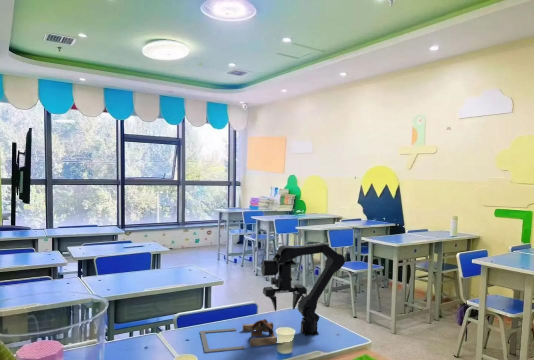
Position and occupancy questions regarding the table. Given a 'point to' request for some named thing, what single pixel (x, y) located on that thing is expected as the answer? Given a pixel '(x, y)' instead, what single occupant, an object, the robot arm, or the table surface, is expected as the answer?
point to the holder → (260, 340)
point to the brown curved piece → (264, 327)
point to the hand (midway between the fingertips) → (284, 309)
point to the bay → (207, 350)
